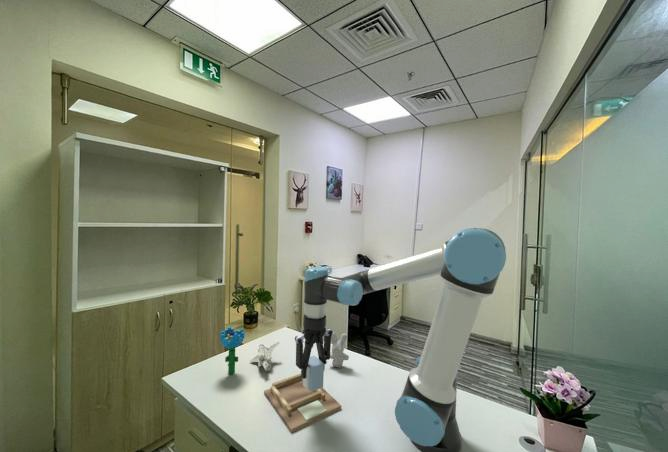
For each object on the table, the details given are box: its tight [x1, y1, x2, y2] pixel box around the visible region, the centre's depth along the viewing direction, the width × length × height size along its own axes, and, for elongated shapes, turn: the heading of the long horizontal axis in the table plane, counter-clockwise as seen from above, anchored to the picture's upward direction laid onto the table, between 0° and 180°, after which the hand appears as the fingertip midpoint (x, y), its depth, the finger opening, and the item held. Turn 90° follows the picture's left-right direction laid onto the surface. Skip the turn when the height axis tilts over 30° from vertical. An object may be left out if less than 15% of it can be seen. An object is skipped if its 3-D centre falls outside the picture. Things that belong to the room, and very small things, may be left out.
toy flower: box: [219, 326, 245, 376], centre depth 111 cm, size 9×9×18 cm
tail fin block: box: [302, 355, 325, 392], centre depth 89 cm, size 6×4×8 cm
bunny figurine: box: [330, 331, 350, 369], centre depth 118 cm, size 10×5×15 cm, turn 78°
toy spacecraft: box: [249, 341, 280, 372], centre depth 115 cm, size 8×15×15 cm
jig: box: [263, 373, 342, 434], centre depth 95 cm, size 22×19×3 cm
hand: (312, 383), depth 89 cm, fingers closed on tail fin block, 4 cm apart
